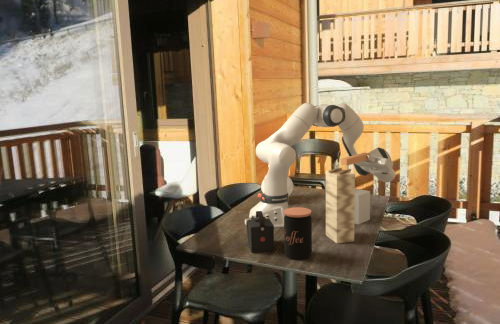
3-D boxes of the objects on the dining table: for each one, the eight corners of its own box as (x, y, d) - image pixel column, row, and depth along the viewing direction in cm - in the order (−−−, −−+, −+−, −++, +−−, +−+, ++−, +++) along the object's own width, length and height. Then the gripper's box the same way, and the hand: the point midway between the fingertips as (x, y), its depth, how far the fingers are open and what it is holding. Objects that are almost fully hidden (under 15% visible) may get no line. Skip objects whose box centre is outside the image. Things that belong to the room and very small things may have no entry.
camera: (271, 239, 197) (270, 206, 194) (277, 251, 184) (276, 215, 181) (246, 241, 196) (245, 207, 193) (250, 253, 182) (249, 217, 179)
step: (358, 224, 213) (358, 195, 210) (340, 220, 220) (340, 192, 217) (369, 219, 220) (370, 191, 217) (351, 215, 227) (352, 188, 224)
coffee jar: (278, 255, 179) (278, 211, 176) (296, 248, 186) (295, 205, 183) (300, 262, 171) (299, 216, 168) (317, 254, 179) (317, 210, 176)
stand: (334, 243, 190) (334, 173, 184) (323, 235, 200) (323, 168, 195) (356, 240, 192) (357, 171, 187) (344, 232, 203) (345, 166, 197)
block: (346, 165, 207) (346, 159, 206) (341, 165, 209) (341, 158, 208) (369, 159, 221) (370, 153, 220) (364, 158, 223) (364, 152, 222)
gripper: (359, 158, 236) (347, 148, 227) (396, 162, 222) (384, 151, 212) (356, 169, 235) (343, 159, 226) (393, 174, 221) (380, 164, 211)
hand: (363, 155), depth 219 cm, fingers closed on block, 3 cm apart
